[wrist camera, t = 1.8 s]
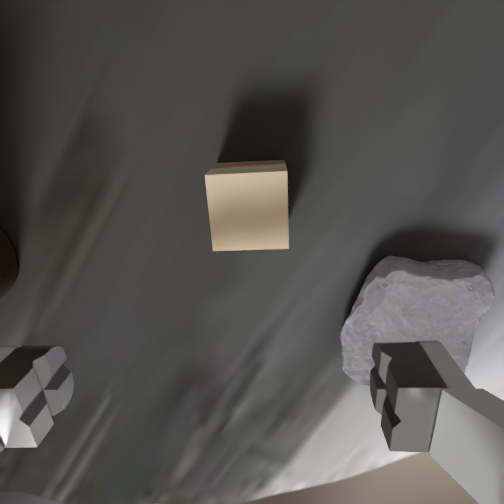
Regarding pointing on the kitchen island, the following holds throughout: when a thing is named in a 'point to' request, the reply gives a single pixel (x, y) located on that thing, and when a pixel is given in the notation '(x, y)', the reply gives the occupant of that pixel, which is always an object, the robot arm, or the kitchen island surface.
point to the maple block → (248, 205)
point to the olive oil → (7, 264)
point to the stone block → (415, 310)
